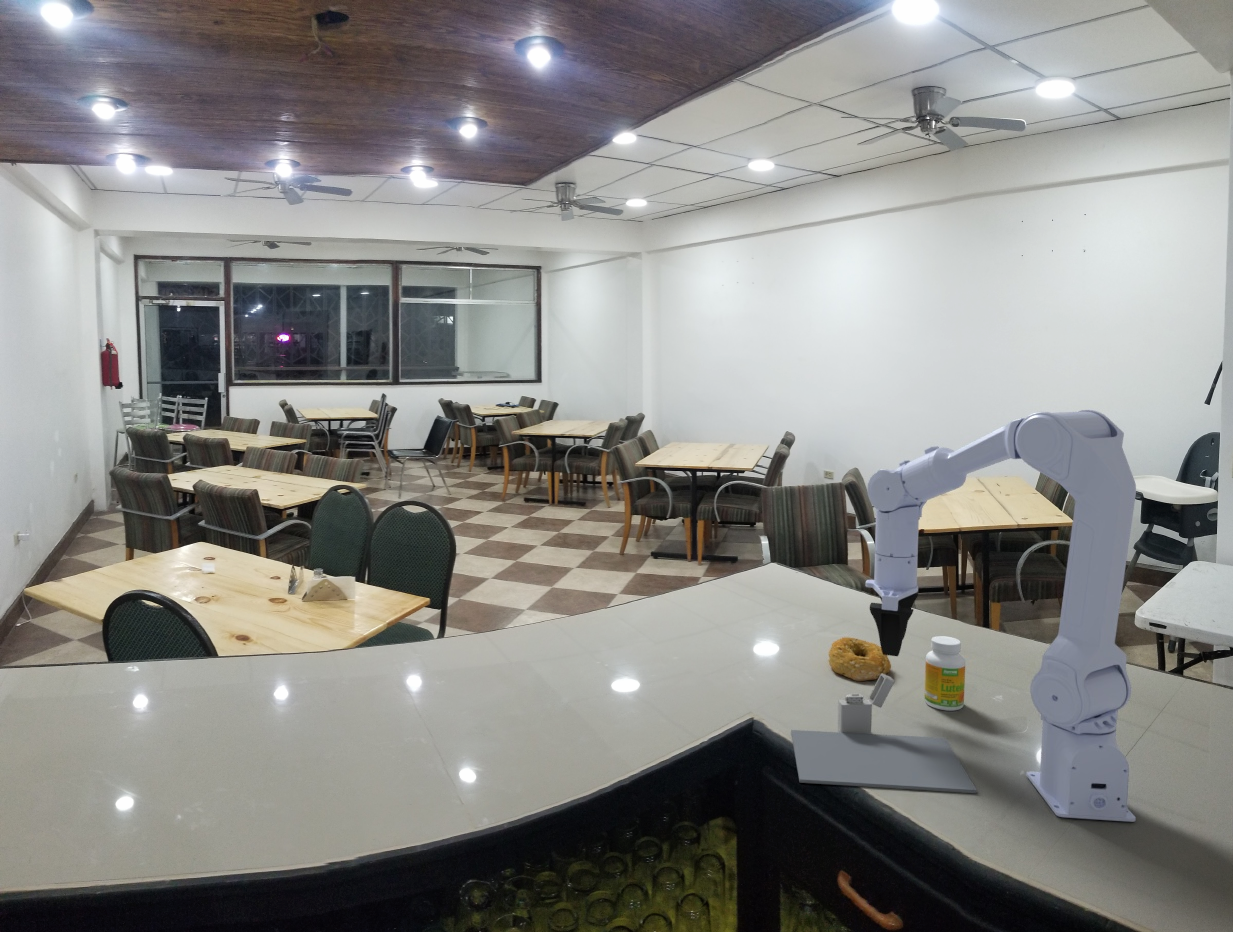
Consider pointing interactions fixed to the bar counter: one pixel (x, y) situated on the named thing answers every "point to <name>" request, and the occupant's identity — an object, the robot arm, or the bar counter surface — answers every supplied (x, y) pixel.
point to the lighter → (862, 707)
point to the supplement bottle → (945, 674)
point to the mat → (879, 761)
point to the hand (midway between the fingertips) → (893, 646)
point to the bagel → (858, 659)
